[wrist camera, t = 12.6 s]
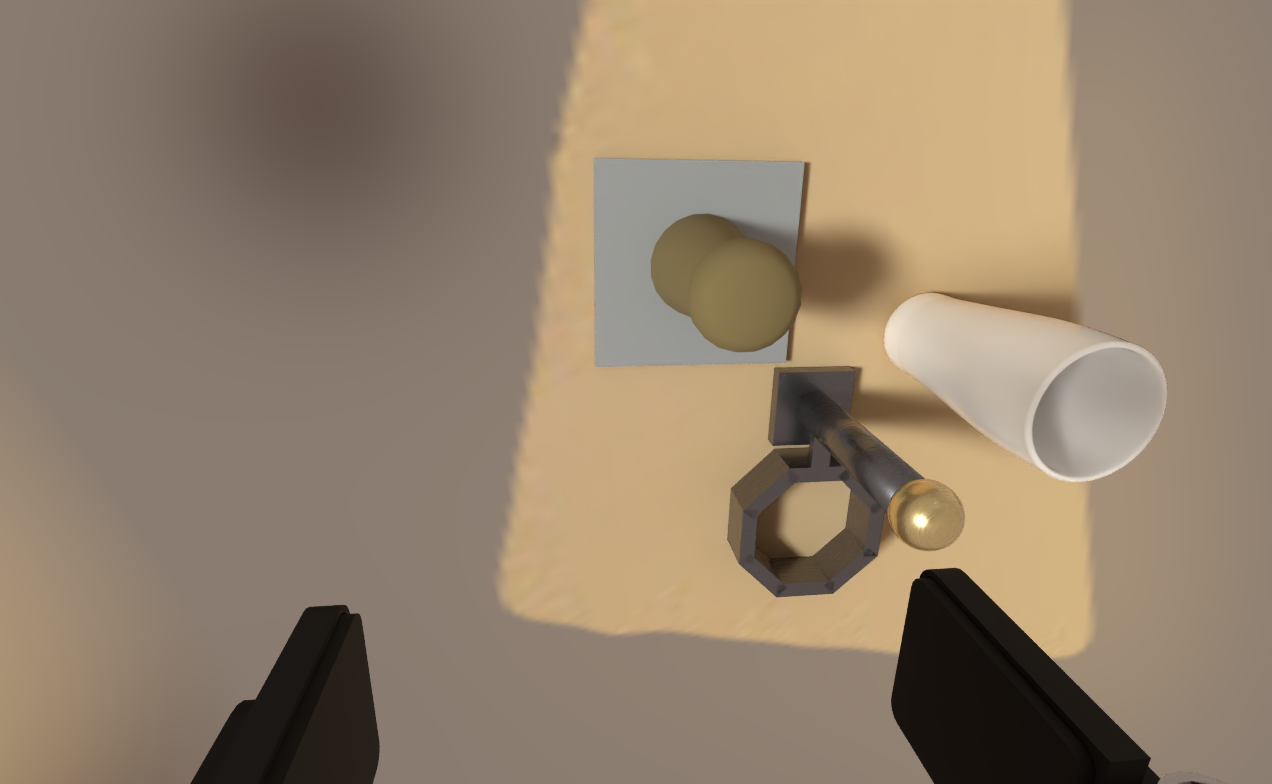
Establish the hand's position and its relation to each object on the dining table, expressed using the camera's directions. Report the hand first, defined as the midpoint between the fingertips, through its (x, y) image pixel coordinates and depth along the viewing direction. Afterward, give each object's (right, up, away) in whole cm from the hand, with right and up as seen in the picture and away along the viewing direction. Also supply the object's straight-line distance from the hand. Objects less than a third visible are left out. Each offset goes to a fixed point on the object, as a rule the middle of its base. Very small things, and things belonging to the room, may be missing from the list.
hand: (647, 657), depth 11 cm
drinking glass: (+18, +8, +32) cm, 38 cm away
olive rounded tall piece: (+4, +12, +28) cm, 31 cm away
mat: (+3, +12, +29) cm, 31 cm away
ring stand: (+11, -1, +34) cm, 36 cm away
